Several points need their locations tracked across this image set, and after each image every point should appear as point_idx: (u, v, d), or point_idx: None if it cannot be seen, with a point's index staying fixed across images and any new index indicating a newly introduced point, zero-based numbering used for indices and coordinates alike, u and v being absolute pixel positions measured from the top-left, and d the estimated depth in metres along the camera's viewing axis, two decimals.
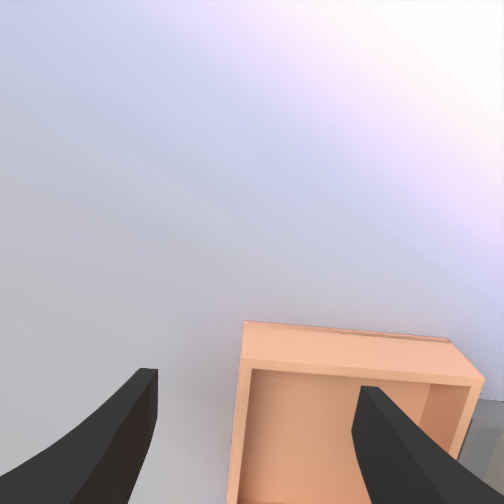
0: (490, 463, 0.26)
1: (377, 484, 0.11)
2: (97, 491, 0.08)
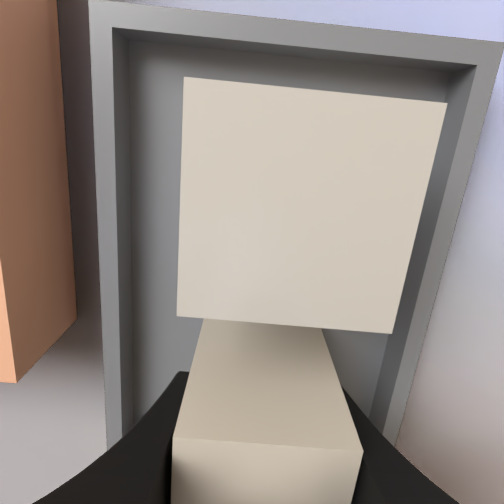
0: None
1: None
2: (157, 495, 0.08)
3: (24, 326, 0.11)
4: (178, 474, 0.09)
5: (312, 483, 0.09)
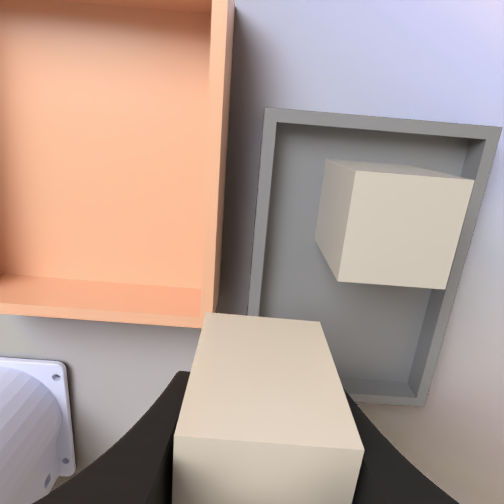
0: (319, 207, 0.20)
1: None
2: (157, 495, 0.08)
3: (214, 295, 0.19)
4: (179, 472, 0.09)
5: (312, 482, 0.09)
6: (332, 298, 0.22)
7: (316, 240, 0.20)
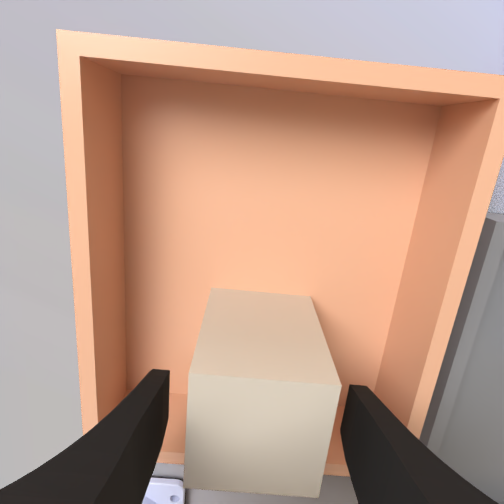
0: None
1: (363, 483, 0.11)
2: (116, 492, 0.08)
3: None
4: (192, 405, 0.11)
5: (300, 413, 0.11)
6: None
7: None
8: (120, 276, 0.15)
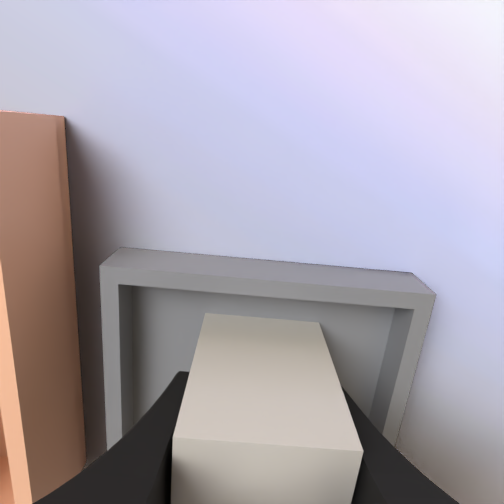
0: None
1: None
2: (157, 495, 0.08)
3: None
4: None
5: None
6: None
7: None
8: None
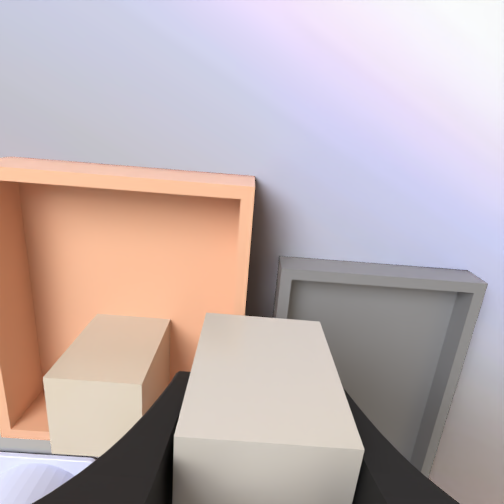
0: None
1: None
2: (157, 495, 0.08)
3: None
4: (48, 398, 0.17)
5: (119, 403, 0.17)
6: None
7: None
8: (27, 307, 0.21)
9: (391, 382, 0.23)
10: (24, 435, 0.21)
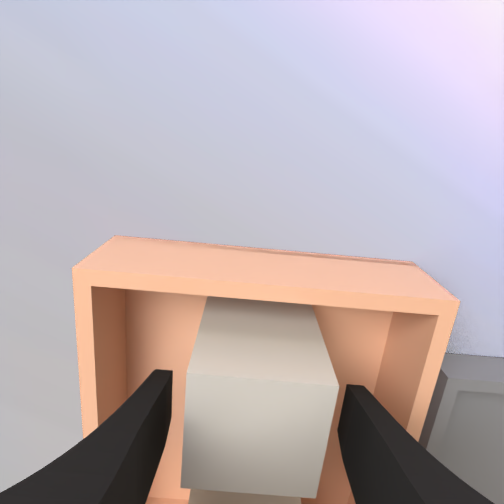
0: None
1: (360, 483, 0.11)
2: (120, 493, 0.08)
3: None
4: None
5: None
6: None
7: None
8: None
9: None
10: None
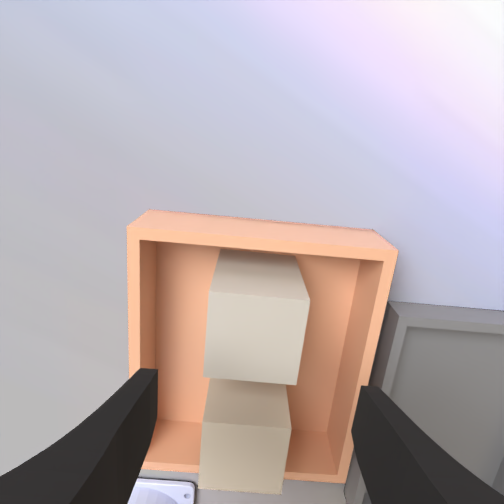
0: None
1: (376, 484, 0.11)
2: (97, 491, 0.08)
3: None
4: (204, 439, 0.18)
5: (268, 444, 0.18)
6: None
7: None
8: (153, 346, 0.23)
9: (481, 416, 0.25)
10: (152, 466, 0.22)
